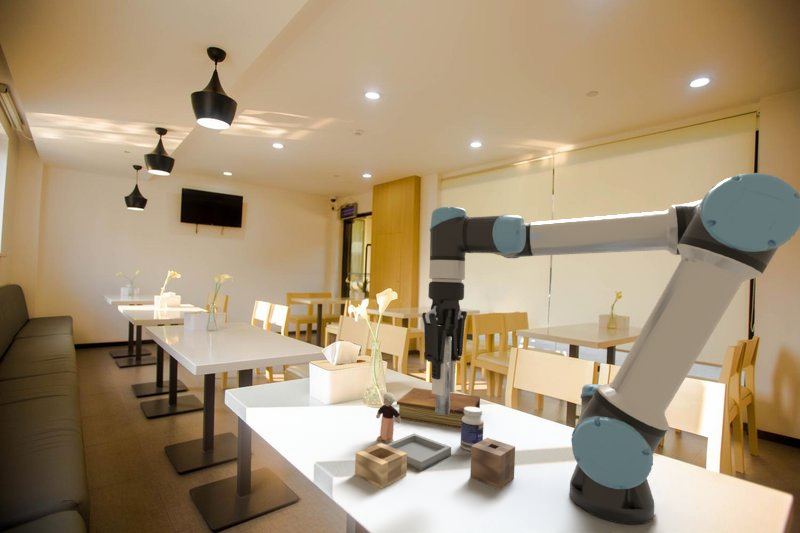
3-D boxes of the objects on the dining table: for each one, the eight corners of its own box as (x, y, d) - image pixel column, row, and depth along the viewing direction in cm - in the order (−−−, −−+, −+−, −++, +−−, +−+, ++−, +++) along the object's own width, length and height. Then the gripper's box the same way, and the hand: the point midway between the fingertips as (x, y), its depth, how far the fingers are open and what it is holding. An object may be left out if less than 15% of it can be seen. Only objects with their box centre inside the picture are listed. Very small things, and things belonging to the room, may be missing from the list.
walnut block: (514, 478, 92) (515, 446, 92) (499, 489, 86) (500, 456, 86) (486, 467, 96) (487, 437, 96) (470, 478, 91) (471, 446, 91)
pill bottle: (482, 453, 104) (484, 413, 104) (459, 450, 105) (461, 411, 105) (482, 444, 110) (483, 406, 110) (461, 441, 111) (462, 404, 111)
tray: (451, 455, 102) (451, 447, 102) (421, 470, 93) (421, 461, 93) (413, 441, 110) (413, 433, 110) (382, 454, 101) (383, 446, 101)
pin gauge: (452, 412, 87) (454, 336, 87) (444, 415, 84) (446, 337, 85) (440, 409, 89) (442, 334, 89) (432, 412, 86) (434, 335, 87)
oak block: (406, 476, 91) (407, 453, 91) (381, 489, 85) (382, 464, 85) (380, 464, 96) (381, 442, 96) (354, 475, 90) (355, 452, 90)
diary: (479, 413, 137) (480, 395, 138) (469, 432, 120) (470, 412, 120) (413, 403, 145) (414, 386, 145) (395, 419, 127) (396, 400, 128)
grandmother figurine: (370, 440, 109) (373, 392, 109) (376, 435, 113) (378, 389, 113) (398, 445, 106) (400, 396, 107) (403, 440, 110) (405, 392, 110)
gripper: (452, 281, 96) (449, 382, 95) (408, 279, 84) (404, 396, 83) (481, 282, 91) (478, 389, 90) (438, 280, 79) (435, 404, 78)
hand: (443, 392), depth 87 cm, fingers closed on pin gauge, 3 cm apart
